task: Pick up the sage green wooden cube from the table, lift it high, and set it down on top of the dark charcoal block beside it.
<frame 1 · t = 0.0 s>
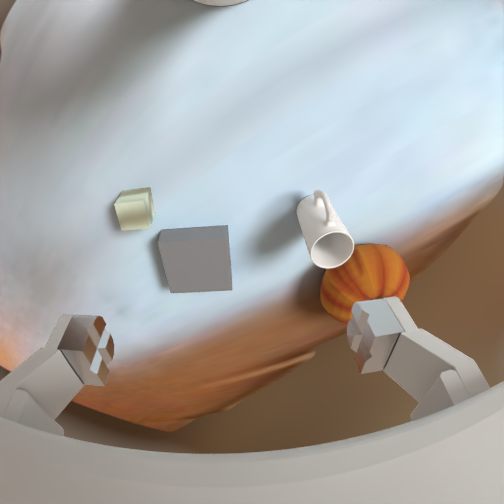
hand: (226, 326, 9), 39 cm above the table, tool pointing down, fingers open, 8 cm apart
riser block: (198, 254, 56), on the table
mug: (312, 201, 51), on the table
pumpkin: (357, 269, 62), on the table
cube: (139, 201, 48), on the table
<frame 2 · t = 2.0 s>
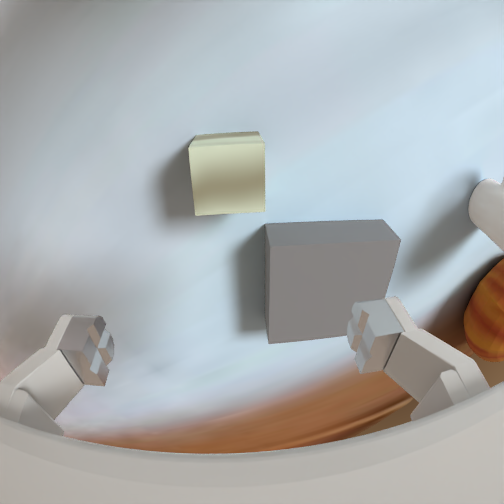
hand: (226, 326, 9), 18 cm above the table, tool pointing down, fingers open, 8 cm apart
riser block: (321, 272, 31), on the table
mug: (485, 188, 27), on the table
pumpkin: (495, 287, 36), on the table
cube: (228, 161, 24), on the table
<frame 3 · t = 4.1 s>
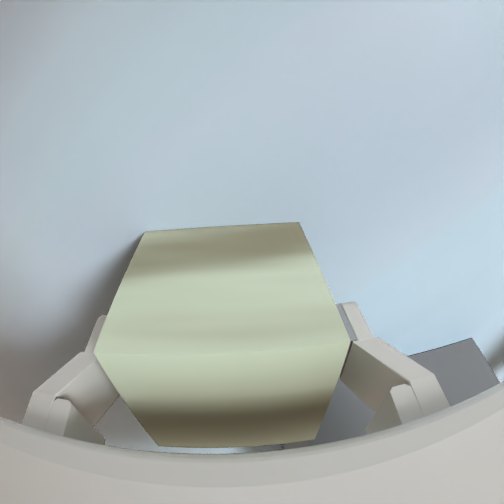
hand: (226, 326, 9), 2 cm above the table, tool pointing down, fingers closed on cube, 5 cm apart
riser block: (371, 409, 17), on the table
cube: (226, 288, 11), on the table, touching gripper
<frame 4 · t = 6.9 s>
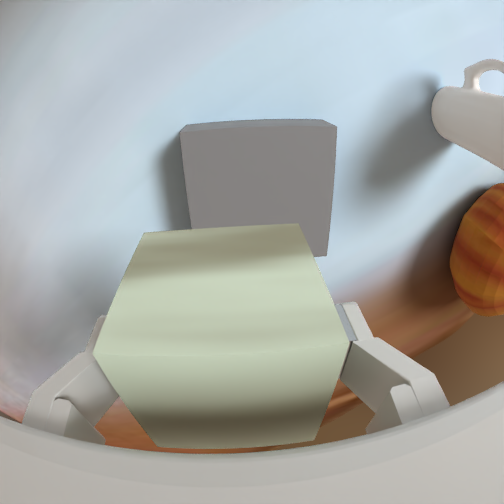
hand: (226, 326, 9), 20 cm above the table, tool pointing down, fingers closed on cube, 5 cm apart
riser block: (257, 182, 27), on the table
mug: (450, 98, 23), on the table
pumpkin: (485, 231, 33), on the table
cube: (225, 289, 11), point 18 cm above the table, touching gripper
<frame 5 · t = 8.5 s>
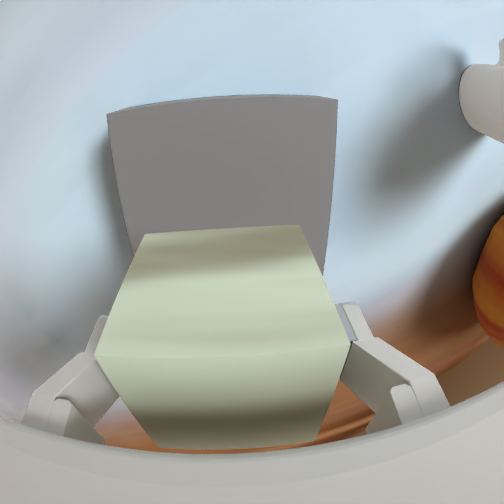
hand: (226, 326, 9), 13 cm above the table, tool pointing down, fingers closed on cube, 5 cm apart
riser block: (226, 184, 20), on the table
mug: (480, 80, 16), on the table
cube: (226, 290, 11), point 11 cm above the table, touching gripper
when the fingers open (8 cm above the table, at t = 9.8 s): cube drops 2 cm, resting on riser block.
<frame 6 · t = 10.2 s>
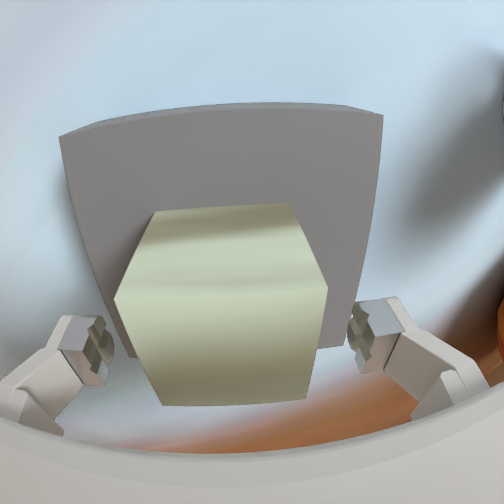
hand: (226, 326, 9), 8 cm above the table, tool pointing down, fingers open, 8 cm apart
riser block: (226, 220, 15), on the table
cube: (226, 263, 12), point 4 cm above the table, touching riser block
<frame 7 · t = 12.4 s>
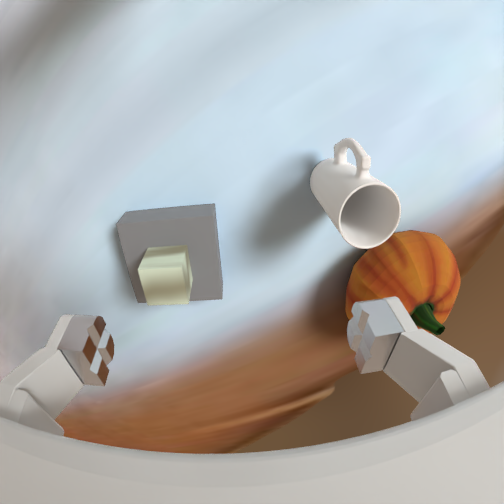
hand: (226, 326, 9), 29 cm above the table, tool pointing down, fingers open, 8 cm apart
riser block: (175, 248, 40), on the table
mug: (331, 168, 36), on the table
pumpkin: (390, 272, 45), on the table
cube: (170, 263, 36), point 4 cm above the table, touching riser block
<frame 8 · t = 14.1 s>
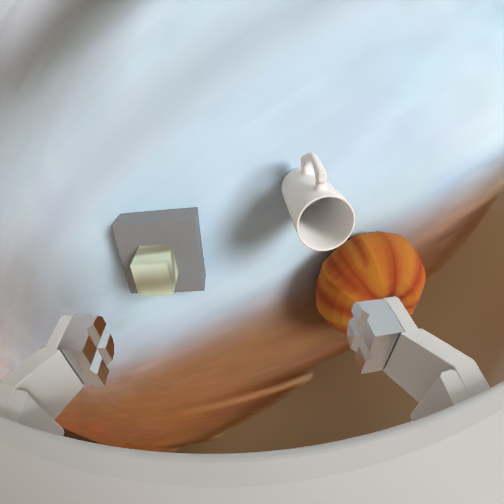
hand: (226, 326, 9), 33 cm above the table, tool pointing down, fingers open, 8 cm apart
riser block: (163, 245, 45), on the table
mug: (301, 175, 41), on the table
pumpkin: (361, 268, 51), on the table
cube: (158, 259, 42), point 4 cm above the table, touching riser block
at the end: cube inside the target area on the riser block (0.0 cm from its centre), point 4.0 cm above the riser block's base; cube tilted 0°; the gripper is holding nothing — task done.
